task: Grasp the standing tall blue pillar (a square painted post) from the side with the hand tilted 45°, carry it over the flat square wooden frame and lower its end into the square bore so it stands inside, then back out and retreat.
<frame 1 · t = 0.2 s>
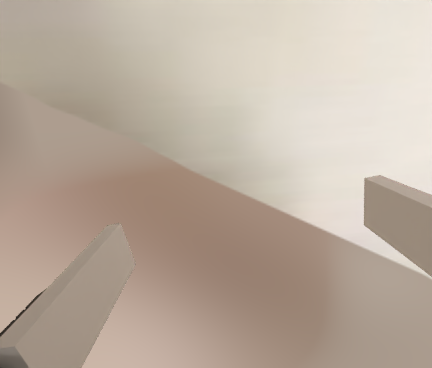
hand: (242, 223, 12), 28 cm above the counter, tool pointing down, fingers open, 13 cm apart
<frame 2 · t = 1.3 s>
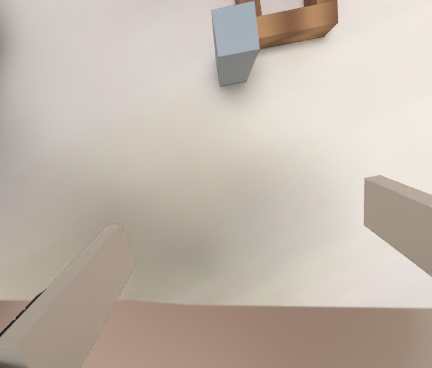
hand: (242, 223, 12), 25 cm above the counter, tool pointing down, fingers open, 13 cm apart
tall blue pillar: (230, 70, 33), on the counter
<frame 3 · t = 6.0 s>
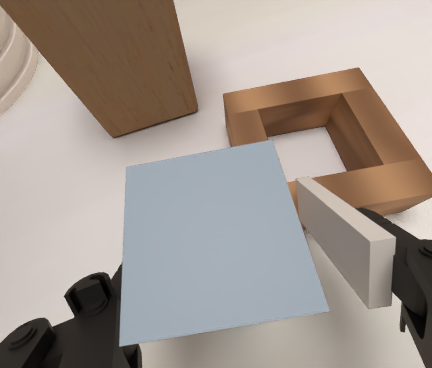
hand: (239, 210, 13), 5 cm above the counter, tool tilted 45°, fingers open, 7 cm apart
wooden block: (149, 97, 26), on the counter
tall blue pillar: (231, 270, 17), on the counter
square wooden frame: (301, 162, 20), on the counter
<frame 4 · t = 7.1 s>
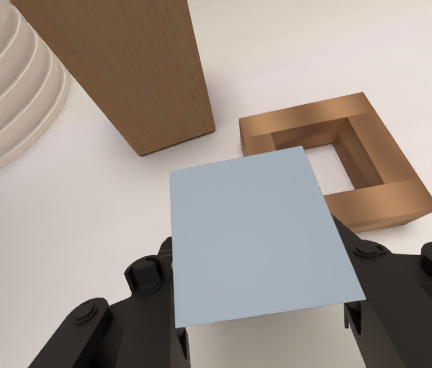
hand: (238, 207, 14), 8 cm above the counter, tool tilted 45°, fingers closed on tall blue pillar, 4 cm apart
wooden block: (170, 117, 29), on the counter
tall blue pillar: (250, 274, 17), point 2 cm above the counter, touching gripper
square wooden frame: (310, 177, 22), on the counter
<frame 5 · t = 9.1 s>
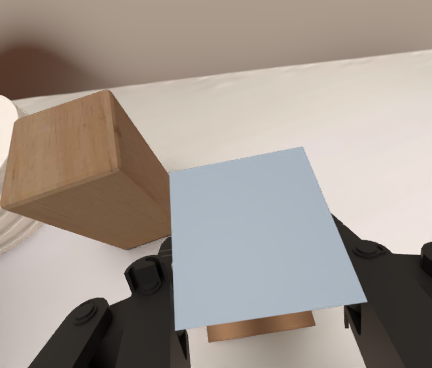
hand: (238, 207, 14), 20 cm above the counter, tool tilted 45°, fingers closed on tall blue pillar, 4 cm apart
wooden block: (151, 213, 37), on the counter
plate stack: (5, 189, 44), on the counter
tall blue pillar: (250, 275, 17), point 15 cm above the counter, touching gripper
square wooden frame: (249, 278, 30), on the counter
when the fingers open (7 cm above the counter, at t = 12.0 s): tall blue pillar drops 1 cm, resting in square wooden frame.
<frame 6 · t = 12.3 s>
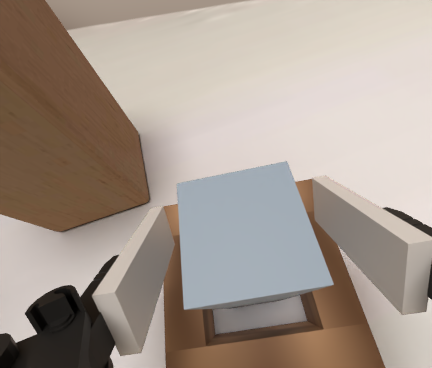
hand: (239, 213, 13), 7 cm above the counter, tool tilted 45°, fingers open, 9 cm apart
wooden block: (103, 178, 25), on the counter
tall blue pillar: (250, 276, 18), resting in square wooden frame
square wooden frame: (250, 277, 18), on the counter
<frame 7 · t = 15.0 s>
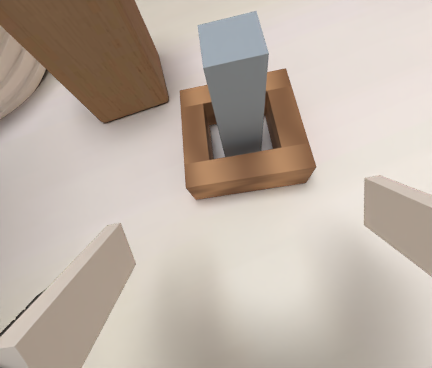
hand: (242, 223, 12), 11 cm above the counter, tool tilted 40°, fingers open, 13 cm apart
wooden block: (132, 88, 32), on the counter
tall blue pillar: (240, 143, 26), resting in square wooden frame
square wooden frame: (241, 144, 26), on the counter
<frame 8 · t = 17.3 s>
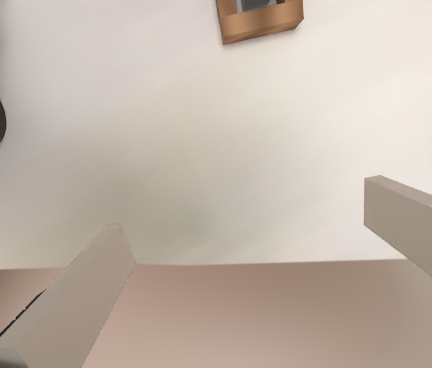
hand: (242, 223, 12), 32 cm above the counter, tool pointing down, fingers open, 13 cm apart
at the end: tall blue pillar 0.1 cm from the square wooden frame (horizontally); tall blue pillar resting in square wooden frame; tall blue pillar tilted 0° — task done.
